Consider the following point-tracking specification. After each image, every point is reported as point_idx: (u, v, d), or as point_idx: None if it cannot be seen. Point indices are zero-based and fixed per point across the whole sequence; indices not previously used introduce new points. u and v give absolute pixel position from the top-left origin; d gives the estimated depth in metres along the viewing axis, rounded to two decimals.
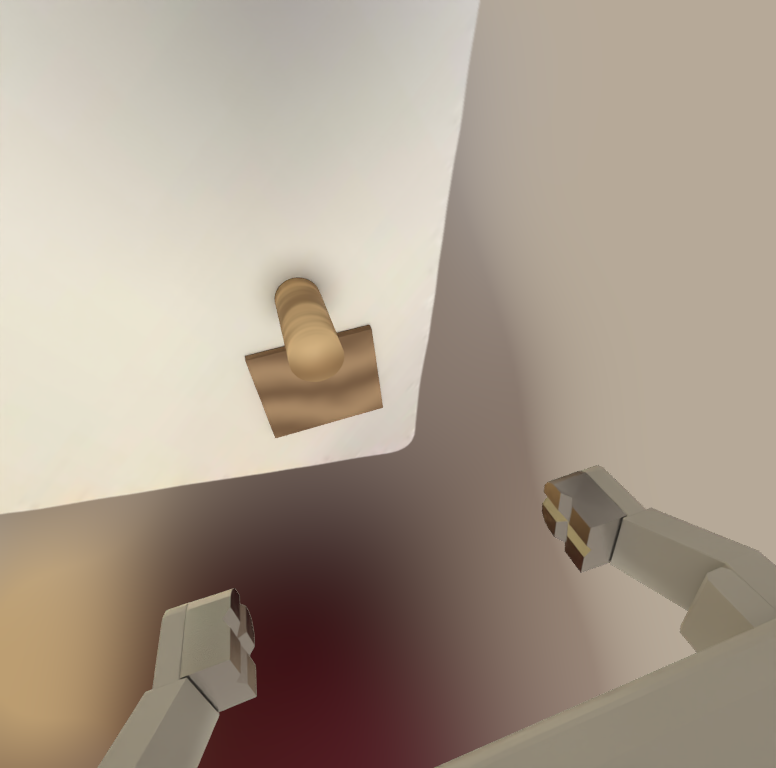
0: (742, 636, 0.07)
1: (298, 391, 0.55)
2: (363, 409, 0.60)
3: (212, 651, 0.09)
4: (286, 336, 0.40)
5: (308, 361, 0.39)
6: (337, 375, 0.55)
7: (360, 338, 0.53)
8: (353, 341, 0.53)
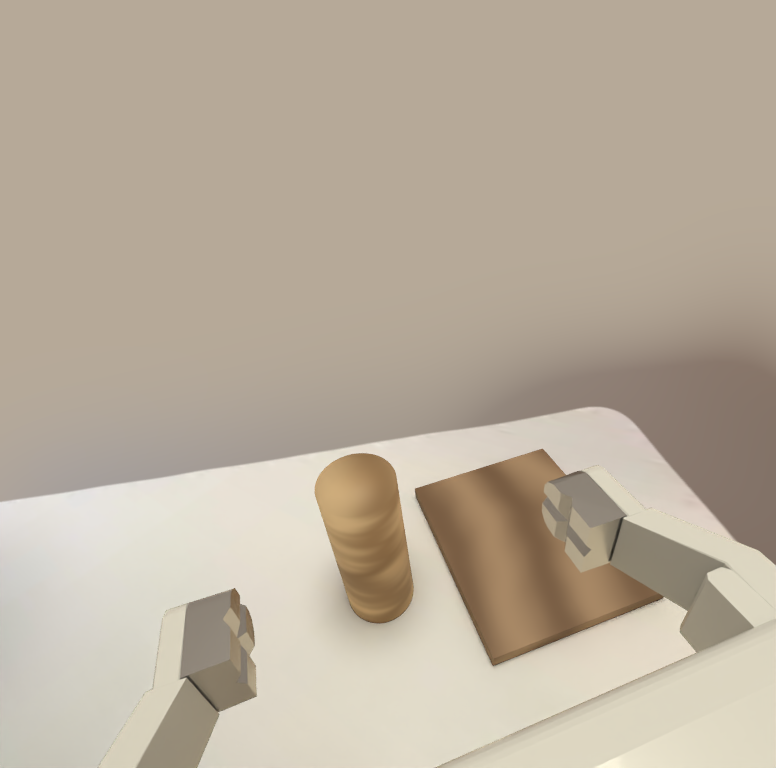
0: (742, 636, 0.07)
1: (541, 563, 0.33)
2: (553, 470, 0.40)
3: (212, 651, 0.09)
4: (349, 546, 0.26)
5: (357, 492, 0.26)
6: (497, 513, 0.37)
7: (430, 497, 0.39)
8: (436, 504, 0.38)
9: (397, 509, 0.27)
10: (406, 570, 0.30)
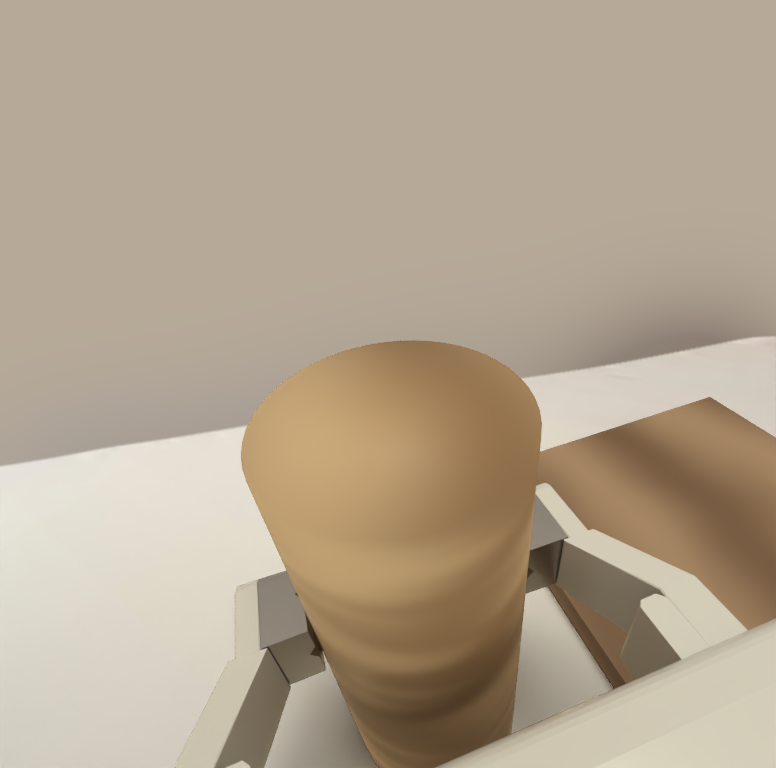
0: (742, 636, 0.07)
1: None
2: (748, 432, 0.21)
3: (289, 623, 0.09)
4: (365, 643, 0.07)
5: (398, 445, 0.07)
6: (666, 517, 0.17)
7: None
8: None
9: (533, 509, 0.08)
10: (516, 675, 0.11)
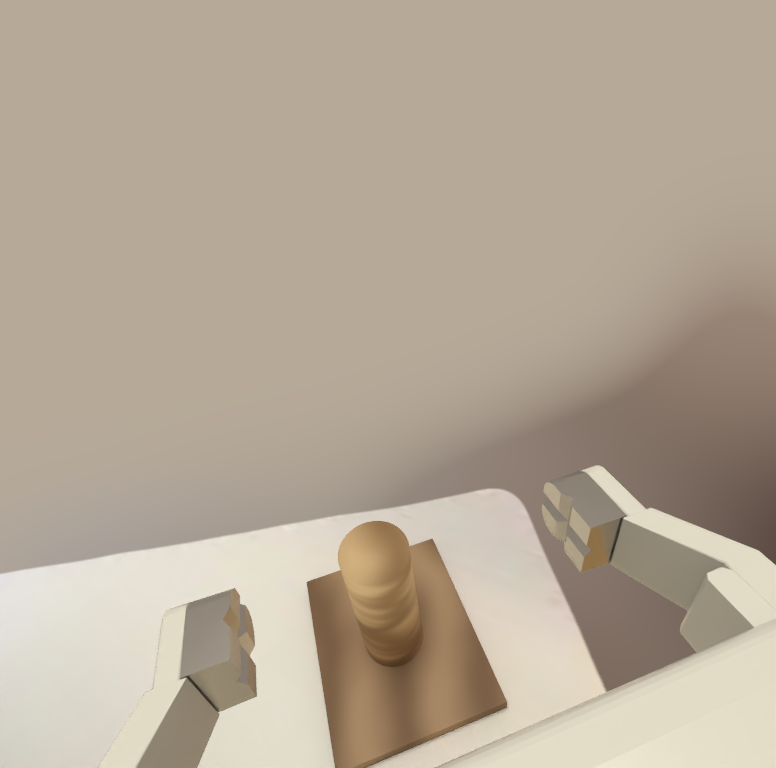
0: (742, 636, 0.07)
1: (401, 669, 0.35)
2: (436, 563, 0.42)
3: (212, 651, 0.09)
4: (368, 607, 0.30)
5: (375, 561, 0.30)
6: None
7: (318, 592, 0.41)
8: (322, 600, 0.41)
9: (410, 574, 0.31)
10: (417, 621, 0.34)
